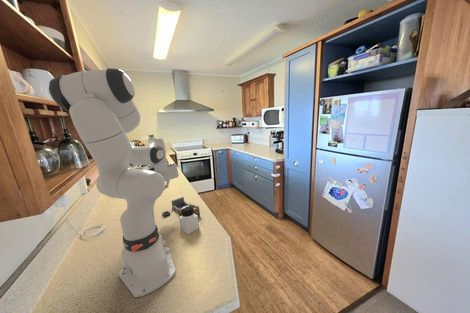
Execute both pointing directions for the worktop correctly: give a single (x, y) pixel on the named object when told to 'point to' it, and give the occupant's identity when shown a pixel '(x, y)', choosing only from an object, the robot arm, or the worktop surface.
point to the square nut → (166, 213)
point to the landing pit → (179, 204)
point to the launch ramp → (196, 210)
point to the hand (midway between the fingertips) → (163, 189)
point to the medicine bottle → (188, 220)
